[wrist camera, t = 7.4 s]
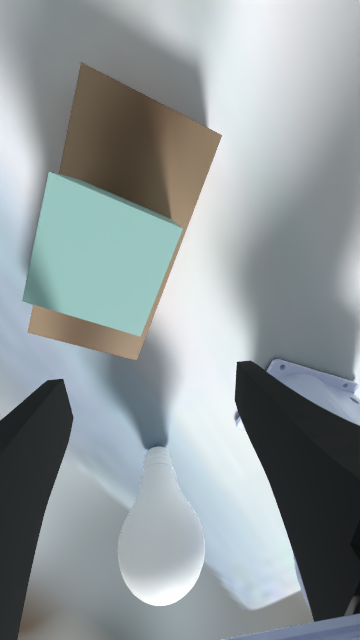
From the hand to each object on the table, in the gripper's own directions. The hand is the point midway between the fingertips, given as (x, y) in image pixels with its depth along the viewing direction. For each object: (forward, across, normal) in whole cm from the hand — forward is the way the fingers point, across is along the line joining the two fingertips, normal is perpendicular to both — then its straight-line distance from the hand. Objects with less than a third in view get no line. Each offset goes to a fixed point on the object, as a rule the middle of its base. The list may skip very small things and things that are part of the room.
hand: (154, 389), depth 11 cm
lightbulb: (+10, +1, +15) cm, 18 cm away
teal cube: (+7, +2, -5) cm, 9 cm away
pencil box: (+10, +2, -5) cm, 11 cm away
